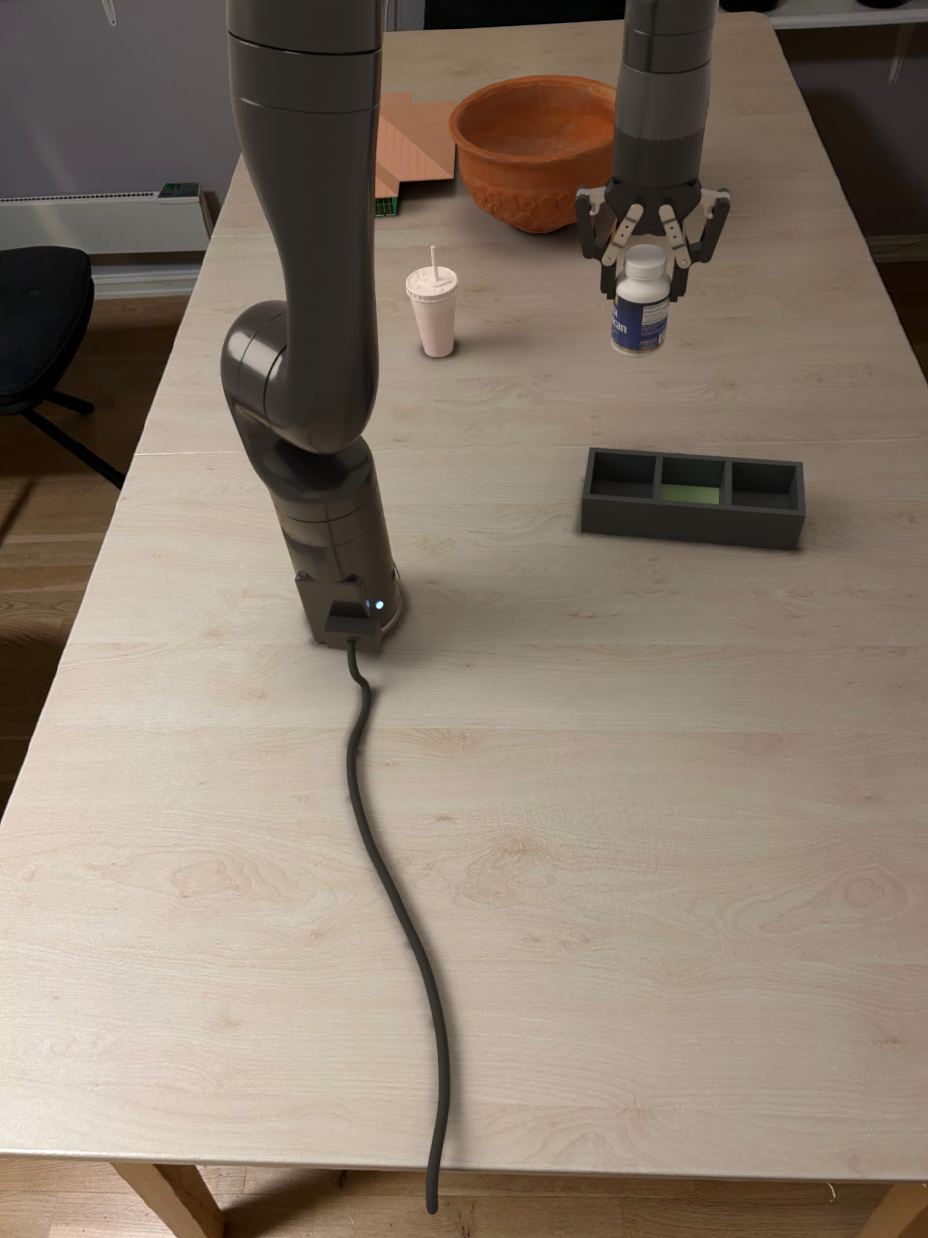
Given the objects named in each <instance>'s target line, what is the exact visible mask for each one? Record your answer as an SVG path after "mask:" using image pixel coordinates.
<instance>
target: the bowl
mask: <svg viewBox="0 0 928 1238" xmlns="http://www.w3.org/2000/svg"><path fill="white" fill-rule="evenodd" d="M616 91H617V87H615V86H613V85H611V84H608V83H606V82H602V81H599V80H597V79H592V78H587V77H583V76H576V75H566V74H565V75H564V74H538V75H537V74H535V75H534V74H533V75H527V76H520V77H514V78H510V79H505V80H502V81H498V82H493V83H491V84H488V85H486V86H484V87H482V88H480V89H477V90H475V91H474V92H473V93H470V95H468V96H466V97H465V98H464V99H462V100H461V101H460V102H459V103H458V104H457V106H456V107H455V108H454V110H453V112H452V113H451V115H450V117H449V121H448V129H449V133H450V136H451V138H452V140H453V141H454V142H455V145H456V146H457V147H456V148H457V152H458V167H459V173H460V177H461V179H462V182H463V184H464V187H465V188H466V189H467V191H468V193H469V196H470V197H471V199H472V200H473V202H474V203H475V204H476V205H477V206H478V207H479V209H481V210H482V211H483V212H485V213H487V214H489V215H490V216H492V218H493V219H496V220H497V221H499V222H502V223H504V224H507V225H508V226H510V227H513V228H518V229H520V230H522V231H523V232H524V233H525V232H526V233H529V234H530V233H531V234H547V233H550V232H555V231H558V230H560V229H562V228H563V227H564V226H567V225H571V224H576V223H577V217H576V211H575V199H576V193H577V188H578V187H579V186H580V185H587V186H588V187H589V188H590V189H593V188H599V187H605V186H606V183H607V182H608V180H609V178H610V176H611V168H612V153H613V137H614V121H615V100H616ZM602 204H604V202H602V203H601V204H600V206H601V205H602Z"/></svg>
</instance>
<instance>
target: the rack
mask: <svg viewBox="0 0 928 1238" xmlns="http://www.w3.org/2000/svg"><path fill="white" fill-rule="evenodd" d="M588 448H589V449H588V453H587V454H588V455H587V462H586V468H585V475H584V481H583V482H584V483H583V490H582V496H581V513H580V514H581V515H580V533H588V534H598V535H599V534H600V535H601V534H602V535H612V536H623V537H624V536H625V537H637V538H645V539H646V538H648V539H658V540H659V539H660V540H672V541H684V542H694V543H695V542H697V543H706V544H718V545H729V546H743V547H754V548H765V549H777V550H789V551H796V548H797V545H798V542H799V539H800V536H801V533H802V529H803V527H804V523H805V520H806V516H807V512H806V494H805V493H806V492H805V476H804V462H803V461H795V460H794V461H793V460H780V459H767V458H766V459H764V458H750V457H737V456H725V455H724V456H723V455H722V456H721V455H709V454H708V455H707V454H695V453H694V454H692V453H680V452H679V453H678V452H667V451H666V452H664V451H651V450H637V449H636V450H635V449H625V448H624V449H622V448H609V447H608V448H607V447H593V446H589V447H588Z"/></svg>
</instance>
